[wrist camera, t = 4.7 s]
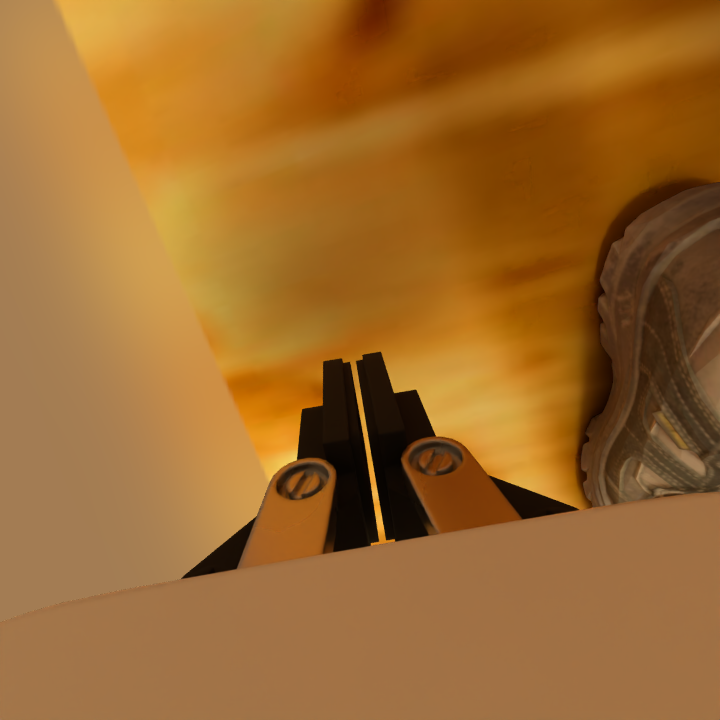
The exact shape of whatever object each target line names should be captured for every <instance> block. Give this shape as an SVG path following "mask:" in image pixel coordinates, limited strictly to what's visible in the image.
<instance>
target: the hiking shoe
mask: <svg viewBox="0 0 720 720" xmlns="http://www.w3.org/2000/svg"><path fill="white" fill-rule="evenodd" d="M600 283H601V285H602V287H603V289H604V291H605V293H604V294H602V295H601V296H600V297H599V298H598V312H599V314H600V315H601V317H602V319H603V322H602V323H601V324H600V340H601V345H602V346H603V348H604V349H605V351H606V353H607V354H608V355H609V357H610V358H611V359H612V364H611V367H612V369H613V385H612V389H611V392H610V396H609V399H608V402H607V405H606V407H605V408H604V410H603V412H602V413H601V414H599V415H597V416H595V417H593V418H592V420H591V422H590V424H589V426H588V428H587V430H586V432H585V434H586V435H587V436H588V437H589V442H587V443H586V444H584V445H583V449H582V455H581V469H582V470H583V471H585V472H586V473H587V480H586V481H585V482H584V483H583V487H584V491H585V495H586V497H587V498H588V499H589V500H590V501H591V502H592V505H593V508H595V507H601V506H607V505H613V504H619V503H625V502H632V501H640V500H647V499H654V498H662V497H669V496H677V495H684V494H693V493H708V492H720V182H717V183H712V184H707V185H703V186H698V187H695V188H691V189H687V190H684V191H682V192H680V193H678V194H676V195H674V196H672V197H671V198H669V199H667V200H665V201H663V202H661V203H659V204H657V205H656V206H654V207H652V208H650V209H649V210H647V211H645V212H643V213H642V214H640V215H639V216H638V217H637V218H636V219H635V220H634V221H633V222H632V223H631V224H630V225H629V226H628V227H627V228H626V229H625V233H624V237H622V238H621V239H619V240H617V241H615V242H613V243H612V245H611V248H610V251H609V253H608V256H607V259H606V262H605V265H604V268H603V271H602V274H601V278H600Z"/></svg>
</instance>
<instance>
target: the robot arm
mask: <svg viewBox="0 0 720 720" xmlns="http://www.w3.org/2000/svg"><path fill="white" fill-rule="evenodd" d="M362 356H363V360H358V361H356V364H357V370H358V376H359V383H360V389H361V395H362V401H363V407H364V413H365V419H366V425H367V431H368V437H369V443H370V449H371V455H372V461H373V466H374V472H375V478H376V484H377V490H378V496H379V501H380V507H381V513H382V519H383V525H384V530H385V536H386V540H391V539H395V542H391V543H385V544H379V545H373V546H371V543H374V542H379V538H378V531H377V524H376V517H375V511H374V504H373V497H372V490H371V483H370V476H369V470H368V463H367V456H366V449H365V443H364V437H363V432H362V426H361V420H360V415H359V409H358V404H357V398H356V392H355V387H354V381H353V375H352V370H351V364H350V362H347V363H343V361H342V358H341V359H335V360H329V361H323V406H317V407H312V408H306V409H302V414H301V424H300V435H299V445H298V455H297V460H296V461H294V462H291V463H289V464H287V465H286V466H284V467H282V468H281V469H280V470H279V471H278V472H277V473H276V474H275V475H274V476H273V478H272V479H271V481H270V483H269V486H268V488H267V491H266V493H265V496H264V499H263V501H262V504H261V507H260V509H259V512H258V514H257V516H256V517H255V518H254V519H253V520H251V521H250V522H249V523H248V524H247V525H245V526H244V527H243V528H242V529H241V530H239V531H238V532H237V533H236V534H234V535H233V536H232V537H231V538H229V539H228V540H227V541H226V542H225V543H223V544H222V545H221V546H220V547H218V548H217V549H216V550H215V551H214V552H212V553H211V554H210V555H209V556H207V557H206V558H205V559H204V560H203V561H201V562H200V563H199V564H198V565H196V566H195V567H194V568H193V569H191V570H190V571H189V572H188V573H187V574H185V575H184V576H183V577H182V578H181V579H180V580H175V581H168V582H163V583H157V584H152V585H146V586H140V587H135V588H130V589H124V590H119V591H115V592H110V593H106V594H101V595H96V596H91V597H87V598H82V599H77V600H72V601H67V602H63V603H59V604H56V605H52V606H49V607H45V608H41V609H38V610H34V611H31V612H27V613H25V614H22V615H19V616H16V617H14V618H11V619H8V620H6V621H3V622H0V720H720V492H708V493H693V494H684V495H677V496H669V497H662V498H654V499H647V500H640V501H632V502H625V503H619V504H613V505H607V506H601V507H595V508H589V509H583V510H579V509H577V508H575V507H573V506H570V505H567V504H564V503H562V502H559V501H556V500H554V499H551V498H548V497H546V496H543V495H540V494H538V493H535V492H532V491H529V490H527V489H524V488H521V487H519V486H516V485H513V484H511V483H508V482H505V481H503V480H500V479H497V478H495V477H492V476H489V475H487V473H486V472H485V471H484V470H483V468H482V467H481V466H480V464H479V463H478V462H477V461H476V459H475V458H474V457H473V456H472V454H471V453H470V452H469V451H468V449H467V448H466V447H465V446H464V445H462V444H461V443H460V442H458V441H456V440H453V439H450V438H446V437H436V435H435V433H434V431H433V428H432V426H431V424H430V421H429V419H428V416H427V414H426V412H425V409H424V407H423V405H422V402H421V400H420V397H419V395H418V393H417V391H416V390H411V391H405V392H399V393H394V392H393V389H392V386H391V383H390V379H389V376H388V373H387V370H386V367H385V363H384V360H383V357H382V354H381V352H376V353H370V354H364V355H362Z"/></svg>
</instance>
